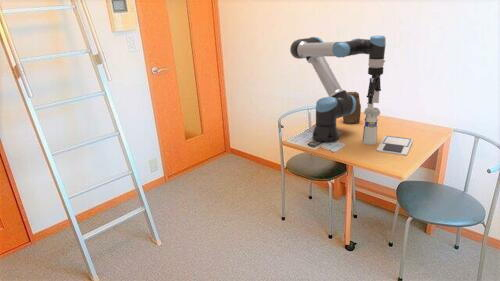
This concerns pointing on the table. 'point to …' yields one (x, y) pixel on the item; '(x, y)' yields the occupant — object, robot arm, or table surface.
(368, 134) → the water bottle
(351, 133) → the table surface
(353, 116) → the block
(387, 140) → the stamp station
